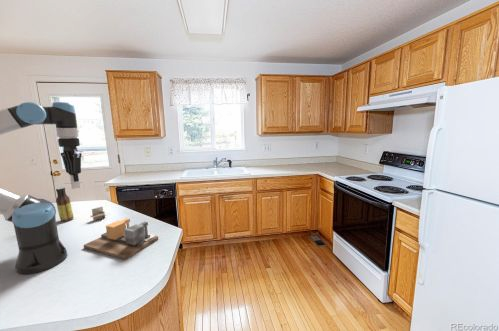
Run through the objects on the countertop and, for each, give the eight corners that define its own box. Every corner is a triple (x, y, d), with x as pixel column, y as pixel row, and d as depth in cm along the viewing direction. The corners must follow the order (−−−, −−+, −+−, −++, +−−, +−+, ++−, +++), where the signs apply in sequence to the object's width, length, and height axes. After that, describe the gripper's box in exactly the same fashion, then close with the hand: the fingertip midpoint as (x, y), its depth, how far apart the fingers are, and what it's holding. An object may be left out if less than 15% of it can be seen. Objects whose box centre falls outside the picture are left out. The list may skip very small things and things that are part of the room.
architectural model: (106, 219, 133) (104, 207, 131) (92, 223, 127) (91, 211, 126) (104, 218, 135) (102, 206, 134) (91, 221, 130) (89, 209, 128)
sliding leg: (115, 240, 100) (113, 227, 99) (107, 239, 102) (105, 225, 100) (133, 231, 108) (131, 219, 107) (126, 230, 110) (124, 217, 109)
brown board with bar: (125, 259, 90) (122, 238, 88) (84, 248, 99) (80, 228, 98) (158, 239, 106) (156, 221, 105) (120, 230, 116) (118, 214, 114)
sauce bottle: (72, 217, 136) (67, 185, 133) (75, 219, 132) (69, 187, 129) (58, 220, 131) (52, 188, 128) (61, 223, 127) (55, 190, 124)
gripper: (85, 137, 101) (92, 187, 105) (70, 137, 106) (77, 184, 110) (66, 138, 94) (74, 191, 98) (51, 138, 100) (59, 188, 104)
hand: (75, 187), depth 104 cm, fingers closed
